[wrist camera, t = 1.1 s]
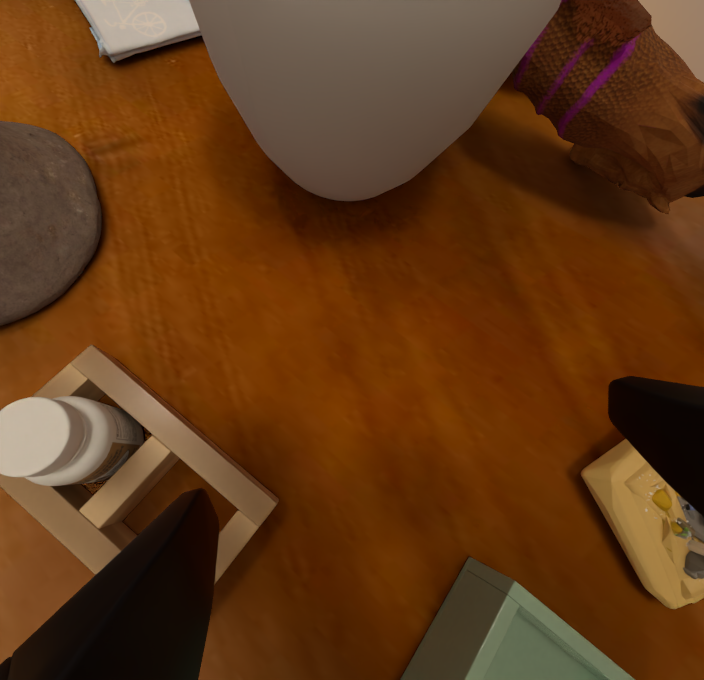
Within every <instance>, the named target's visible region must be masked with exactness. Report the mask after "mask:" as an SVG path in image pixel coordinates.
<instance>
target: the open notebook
mask: <svg viewBox="0 0 704 680" xmlns="http://www.w3.org/2000/svg"><path fill="white" fill-rule="evenodd" d="M75 1H76V3H77V4H78V6H79V8H80V9H81V11H82V12H83V14H84V15H85V17H86V18H87V20H88V21H89V23H90V25H91V26H92V27H90V30H91V32H92V34H93V36H94V37H95V39H96V41H97V43H98V48H99V51H100V52H99V57H100V58H101V56H102V55H107V56H109V58H110V59H111V61H112V62H113V63H115V62H116V61H119V60H121V59H124V58H127V57H129V56H131V55H133V54H136V53H141V52H145V51H149V50H152V49H155V48H158V47H162V46H165V45H169V44H173V43H177V42H180V41H184V40H187V39H190V38H194V37H197V36H201V35H202V34H201V31H200V29H199V26H198V23H197V21H196V18H195V15H194V12H193V10H192V7H191V4H190V2H189V0H75Z"/></svg>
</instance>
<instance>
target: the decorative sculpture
mask: <svg viewBox="0 0 704 680" xmlns="http://www.w3.org/2000/svg"><path fill="white" fill-rule="evenodd" d="M512 75H513V84H514V88H515V89H516V90H517V91H520V92H523V93H524V94H525V95H527V96H528V98H529V99H530V101H531V102H532V103H533V105H534V106H535V110H536V113H537V114H538V115H541V114H542V115H544V116H546V117H547V118H549V119H550V121H551V122H552V124H553V125H554V127H555V128H556V130H557V133H558V136H560V137H561V138H562V139H564V140H566V141H569V142H572V143H574V145H573V147H572V149H571V151H570V159H571V160H573V161H574V162H575V164H576V165H583V166H587V167H589V168H590V169H591V170H593V171H594V172H596V173H598V174H600V175H601V176H603V177H605V178H606V179H608V180H609V181H610V182H612V183H614V184H616V185H617V186H618V187H619V188H620V189H623V190H628V191H633V192H634V193H636V194H638V195H640V196H642V197H645V198H647V200H648V202H649V203H650V205H652V206H653V207H654V208H656V209H657V210H658V211H660V212H662V213H665V214H669V211H670V208H669V203H670V202H673V201H675V200H677V199H679V198H681V197H683V196H686V197H691V198H694V197H701V196H704V83H703V82H701V81H700V80H698V79H697V78H696V77H695V76H694V74H693V73H692V72H691V70H690V69H689V68H688V66H687V65H686V63H685V62H684V61H683V60H682V59H681V58H680V56H679V55H678V54H677V53H676V52H675V51H674V50H673V49H672V48H671V47H670V46H669V45H668V44H667V43H666V42H664V41H663V40H662V39H661V38H660V37H659V36H658V35H657V34H656V33H655V31H654V29H653V27H652V25H651V15H650V14H649V13H648V12H647V11H646V9H645V8H644V7H643V6H642V5H641V4H640V3H639V1H638V0H561V3H560V6H559V8H558V10H557V11H556V13H555V14H554V15H553V17H552V18H551V20H550V21H549V22H548V24H547V25H546V27H545V28H544V29H543V31H542V32H541V33H540V35H539V36H538V37H537V39H536V40H535V41H534V43H533V44H532V45H531V47H530V48H529V49H528V51H527V52H526V53H525V55H524V56H523V57H522V59H521V60H520V61H519V63H518V64H517V65H516V67H515V68H514V69H513V71H512Z"/></svg>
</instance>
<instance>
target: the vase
mask: <svg viewBox="0 0 704 680" xmlns="http://www.w3.org/2000/svg"><path fill="white" fill-rule="evenodd" d="M189 2H190V4H191V7H192V10H193V12H194V15H195V18H196V21H197V23H198V26H199V29H200V31H201V34H202V37H203V40H204V42H205V45H206V48H207V50H208V53H209V56H210V58H211V61H212V63H213V65H214V68H215V70H216V72H217V75H218V77H219V79H220V81H221V83H222V84H223V86H224V88H225V89H226V91H227V93H228V95H229V96H230V98H231V100H232V101H233V103H234V105H235V106H236V108H237V110H238V111H239V113H240V115H241V116H242V118H243V120H244V121H245V123H246V125H247V127H248V128H249V130H250V132H251V133H252V135H253V137H254V138H255V140H256V142H257V143H258V144H259V146H260V147H261V148H262V150H263V151H264V153H265V154H266V155H267V156H268V157H269V158H270V159H271V160H272V161H273V162H274V163H275V164H276V165H277V166H278V167H279V168H280V169H281V170H282V171H283V172H284V173H285V174H286V175H287V176H288V177H290V178H291V179H292V180H293V181H294V182H295V183H296V184H298V185H299V186H301V187H302V188H304V189H305V190H307V191H309V192H311V193H313V194H316V195H318V196H320V197H324V198H328V199H332V200H338V201H358V200H365V199H369V198H372V197H376V196H378V195H380V194H382V193H384V192H386V191H389V190H391V189H393V188H395V187H397V186H399V185H401V184H403V183H405V182H407V181H409V180H411V179H412V178H413V177H414V176H416V175H417V174H418V173H419V172H420V171H422V170H423V169H424V168H425V167H426V166H427V165H428V164H429V163H431V162H432V161H433V160H434V159H435V158H436V157H437V156H438V155H440V154H441V153H442V152H443V151H444V150H445V149H446V148H447V147H449V146H450V145H451V144H452V143H453V142H454V141H455V140H456V139H458V138H459V137H460V136H461V135H462V134H463V133H464V132H465V131H466V130H468V129H469V128H470V127H471V125H472V124H473V123H474V121H475V120H476V119H477V117H478V116H479V115H480V113H481V112H482V111H483V109H484V108H485V107H486V105H487V104H488V103H489V101H490V100H491V99H492V97H493V96H494V95H495V93H496V92H497V91H498V89H499V88H500V87H501V85H502V84H503V83H504V81H505V80H506V79H507V77H508V76H509V75H510V73H511V72H512V71H513V69H514V68H515V67H516V65H517V64H518V63H519V61H520V60H521V59H522V57H523V56H524V55H525V53H526V52H527V51H528V49H529V48H530V47H531V45H532V44H533V43H534V41H535V40H536V39H537V37H538V36H539V35H540V33H541V32H542V31H543V29H544V28H545V27H546V25H547V24H548V22H549V21H550V20H551V18H552V17H553V15H554V14H555V13H556V11H557V10H558V8H559V6H560V3H561V0H189Z"/></svg>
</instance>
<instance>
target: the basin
mask: <svg viewBox="0 0 704 680" xmlns="http://www.w3.org/2000/svg"><path fill="white" fill-rule="evenodd" d="M400 680H635V679H634V678H633V677H631V676H630V675H629V674H628V673H627V672H625V671H624V670H623V669H622V668H621V667H619V666H618V665H617V664H616V663H614V662H613V661H612V660H611V659H610V658H608V657H607V656H606V655H605V654H604V653H602V652H601V651H600V650H599V649H597V648H596V647H595V646H594V645H593V644H591V643H590V642H589V641H588V640H587V639H585V638H584V637H583V636H582V635H580V634H579V633H578V632H577V631H576V630H574V629H573V628H572V627H571V626H570V625H568V624H567V623H566V622H565V621H564V620H562V619H561V618H560V617H559V616H557V615H556V614H555V613H554V612H553V611H551V610H550V609H549V608H548V607H547V606H545V605H544V604H543V603H542V602H540V601H539V600H538V599H537V598H536V597H534V596H533V595H532V594H531V593H530V592H528V591H527V590H526V589H525V588H523V587H522V586H521V585H520V584H519V583H517V582H516V581H515V580H513V579H511V578H509V577H507V576H505V575H504V574H502V573H500V572H498V571H496V570H494V569H492V568H490V567H488V566H487V565H485V564H483V563H481V562H479V561H477V560H475V559H473V558H471V557H469V558H468V559H467V561H466V563H465V565H464V567H463V568H462V570H461V572H460V574H459V575H458V577H457V579H456V581H455V583H454V584H453V586H452V588H451V590H450V592H449V593H448V595H447V597H446V599H445V600H444V602H443V604H442V606H441V608H440V609H439V611H438V613H437V615H436V617H435V618H434V620H433V622H432V624H431V625H430V627H429V629H428V631H427V633H426V634H425V636H424V638H423V640H422V642H421V643H420V645H419V647H418V649H417V650H416V652H415V654H414V656H413V658H412V659H411V661H410V663H409V665H408V667H407V668H406V670H405V672H404V674H403V675H402V677H401V679H400Z"/></svg>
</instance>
